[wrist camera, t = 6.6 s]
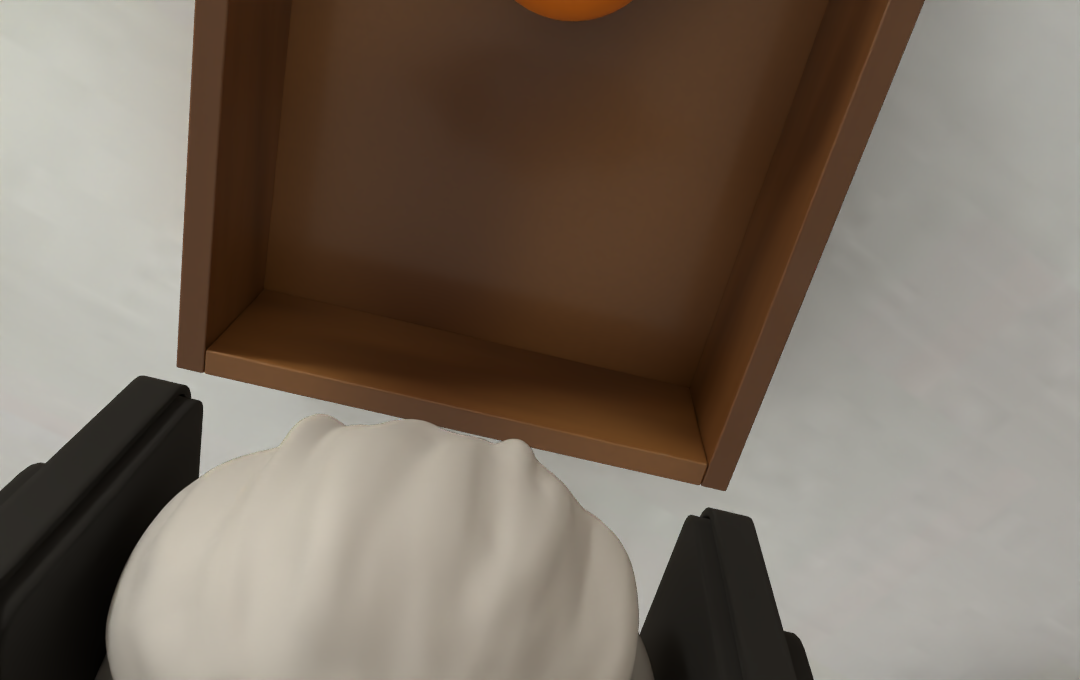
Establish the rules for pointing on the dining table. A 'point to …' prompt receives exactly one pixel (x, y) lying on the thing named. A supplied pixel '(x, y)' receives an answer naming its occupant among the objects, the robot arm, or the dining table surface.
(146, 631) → the garlic
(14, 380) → the dining table surface
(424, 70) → the wooden tray
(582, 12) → the mandarin
